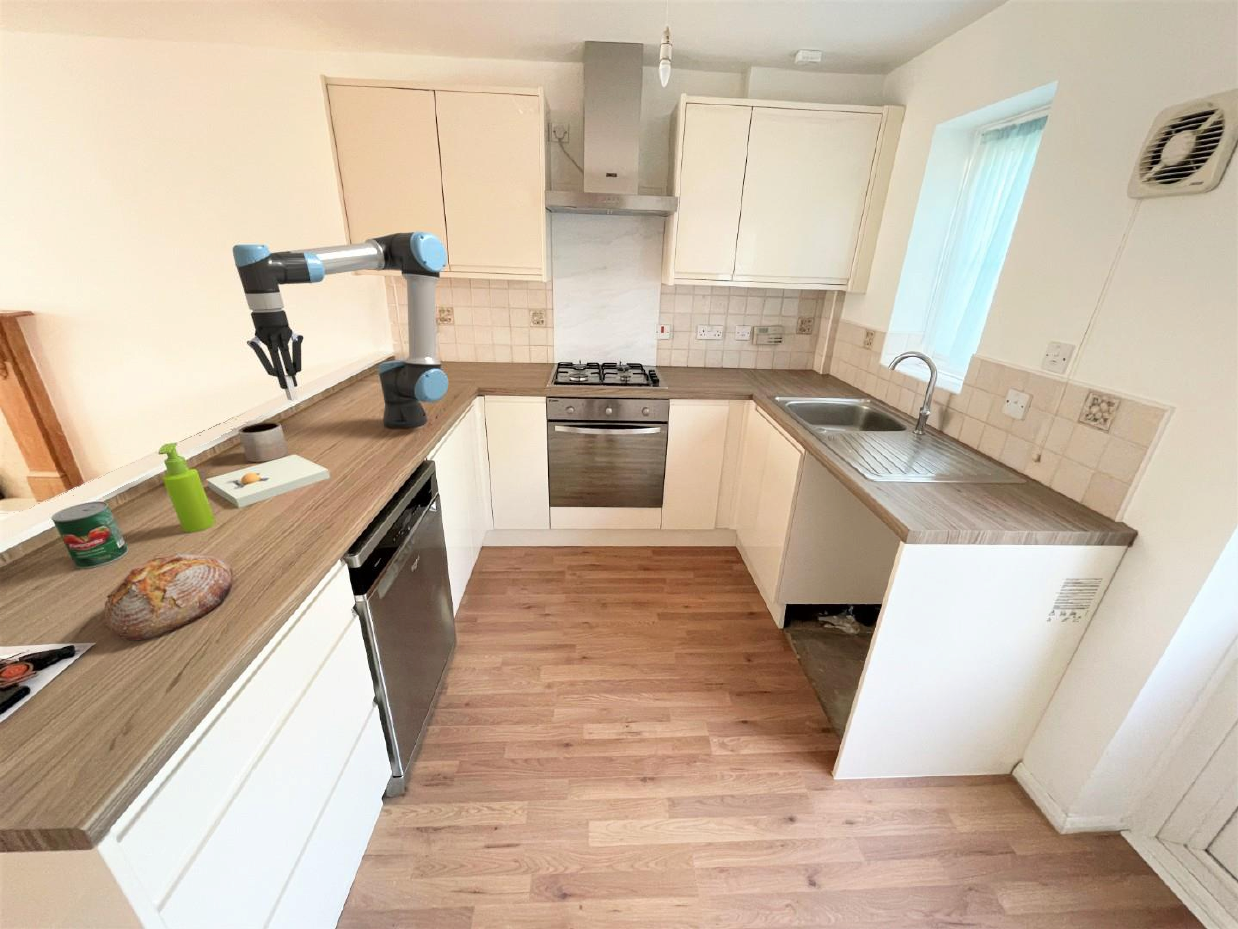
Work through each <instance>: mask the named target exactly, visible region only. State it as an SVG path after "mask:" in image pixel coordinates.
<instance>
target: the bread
mask: <svg viewBox="0 0 1238 929" xmlns="http://www.w3.org/2000/svg"><path fill="white" fill-rule="evenodd" d="M233 573H234V572H233V568H232V567H231V565H229V564H228V563H226V562H225V561H223V560H222V559H220V558H218V557H215V556H211V555H206V554H205V555H204V554H189V553H187V554H186V553H180V552H179V553H178V552H177V553H174V554H172V555H169V556H165V557H157V558H153V559H151V560H149V561H147V562H145V563H144V564H141V565H139V566H137V567H136V568H132V569H131V571H129V572H128V574H127V576H126V577H125V578H124V579H122V580H121V581H120V582H119V583H118V585H116V586H115V588H114V589H112V591H111V592H110V593H108V594H107V596H106V598H107V600H105V602H104V619H105V625H106V628H107V629H108V631H110V632H111V634H113V635H115V636H117V637H119V638H123V639H125V640H128V641H141V640H146V639H150V638H154V637H156V636H159V635H162V634H166V633H168V632H170V631H172V630H175V629H177V628H179V627H181V626H183V625H185V624H187V623H191V622H192V621H194V620H195V619H199V618H200V617H203V616H204V615H207V614H208V613H209V612H212V611H213V610H214V609H217V608H219V607H220V606H221V605H223V603H224V602H225V599H226V598H228V596H229V595H230V592H231V591H232V590H231V589H232V586H233V582H234V581H233V580H234V578H233V575H234V574H233Z"/></svg>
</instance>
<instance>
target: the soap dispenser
mask: <svg viewBox="0 0 1238 929" xmlns="http://www.w3.org/2000/svg"><path fill="white" fill-rule="evenodd" d="M177 445H178V444H177V442H171V443H165V444H162V446H161V447H160V448H159V450H158V453H157V454H158V455H167V458H166V459H165V460H164V461H163V462H164V465H165V467H166V470H167V474H166V473H165V475H163V476H162V480H163V483H164V486H165V489H166V491H167V493H168V495H169V498H170V500H171V502H172V503H171V504H172V505H173V508H174V510H175V513H176V515H177V518H178V520H179V523H180V526H181V529H182V530H183V532H186V533H195V532H199V531H204V530H207V529H209V528H211V527H212V526H214V525H215V524H216V523H217V522H216V518H215V516H214V512H213V511H212V507H211V504H210V503H209V500H208V497H207V495H206V494H207V493H206V490H205V489H204V486H203V484H202V481H201V478H200V475H199V472H198V470H197V469H195V468H189V467H188V463H187V460H186V458H185V457H184V456H181V455H179V454H178V452H177V449H176V446H177Z"/></svg>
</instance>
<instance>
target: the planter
mask: <svg viewBox="0 0 1238 929" xmlns="http://www.w3.org/2000/svg"><path fill="white" fill-rule="evenodd" d="M237 432H238V434H239V439H240V440H241V444H242V448H243V450H244V455H245V458H246V460H247V461H248V462H251V463H258V464H259V463H266V462H269V461H273V460H276V459H280V458H284V457H286V455H287V456H288V454H289V452H290V451H289V448H288V443H287V441H286V438H285V435H284V430H283V428H282V425H281V423H279V422H275V421H274V422H273V421H269V422H268V421H266V422H258V423H253V424H248V425H245V426H243V427H241V428H240V429H238V430H237Z"/></svg>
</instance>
